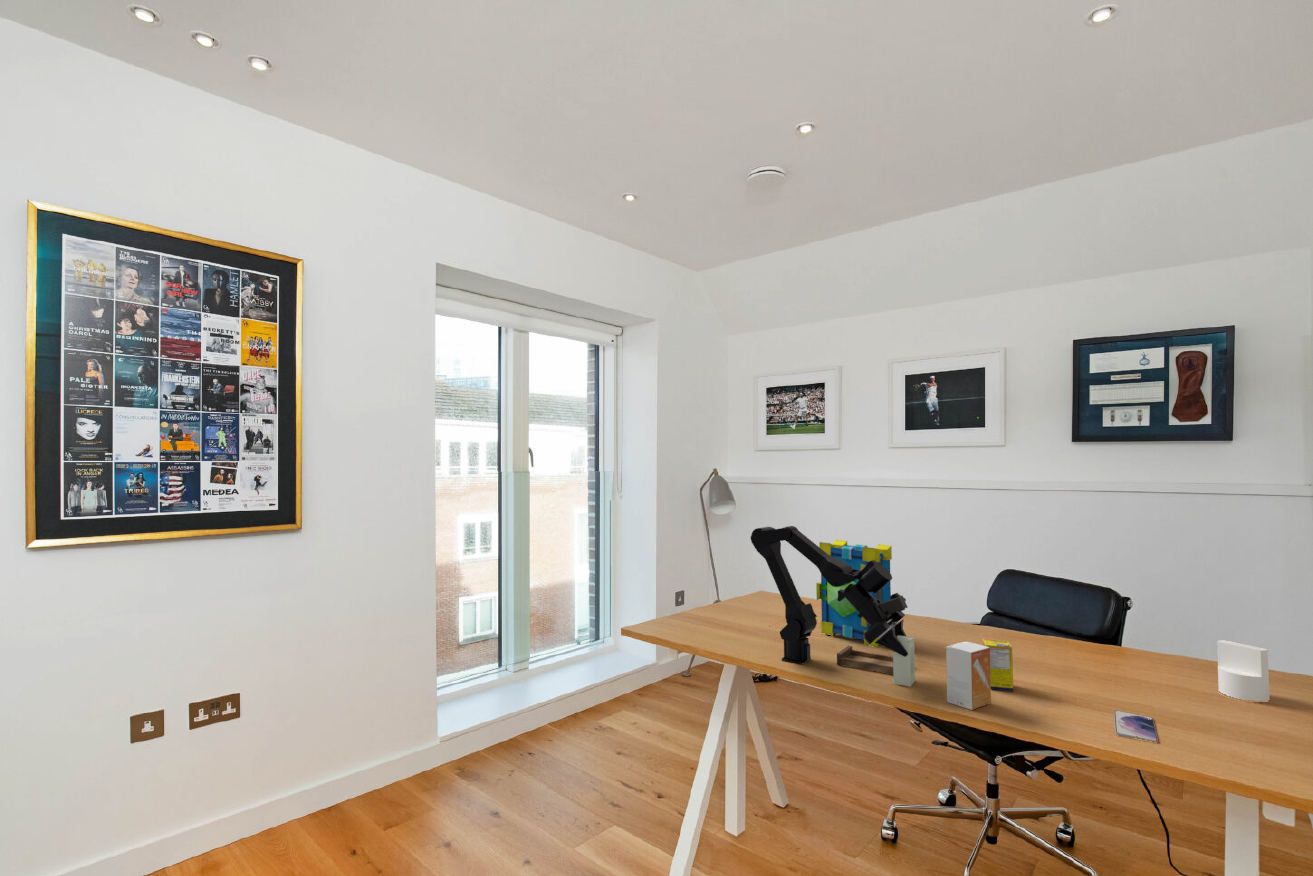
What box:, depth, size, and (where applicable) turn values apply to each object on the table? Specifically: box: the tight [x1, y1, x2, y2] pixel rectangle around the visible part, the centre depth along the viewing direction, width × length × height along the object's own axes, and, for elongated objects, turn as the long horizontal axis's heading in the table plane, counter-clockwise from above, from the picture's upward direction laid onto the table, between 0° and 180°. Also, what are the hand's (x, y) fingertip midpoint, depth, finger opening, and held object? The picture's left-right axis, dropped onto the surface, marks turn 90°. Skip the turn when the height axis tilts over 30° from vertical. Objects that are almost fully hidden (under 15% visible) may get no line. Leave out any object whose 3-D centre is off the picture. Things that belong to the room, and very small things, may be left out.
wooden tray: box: [836, 645, 893, 676], centre depth 176 cm, size 18×10×3 cm, turn 55°
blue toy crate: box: [815, 539, 893, 648], centre depth 204 cm, size 14×23×30 cm, turn 40°
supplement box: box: [981, 638, 1014, 692], centre depth 159 cm, size 6×6×11 cm
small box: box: [945, 641, 992, 711], centre depth 149 cm, size 8×6×13 cm
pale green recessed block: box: [892, 635, 916, 687], centre depth 163 cm, size 4×5×11 cm
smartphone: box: [1113, 710, 1159, 743], centre depth 135 cm, size 7×1×15 cm
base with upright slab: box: [1216, 639, 1271, 701], centre depth 152 cm, size 9×9×12 cm
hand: (909, 653), depth 162 cm, fingers closed on pale green recessed block, 5 cm apart
